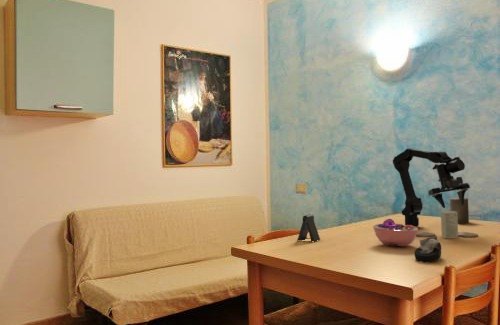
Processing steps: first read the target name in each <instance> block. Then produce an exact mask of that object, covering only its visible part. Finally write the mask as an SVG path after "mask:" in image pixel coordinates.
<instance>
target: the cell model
mask: <svg viewBox="0 0 500 325" xmlns="http://www.w3.org/2000/svg"><path fill="white" fill-rule="evenodd" d="M372 228H373V230H374V233H375V234H374V235H375V237H376V238H377V239H378V241H379V242H380V243H381V244H383V245H386V246H392V247H393V246H394V247H395V246H396V247H406V246H410V245H411V244H412V243H414V241H415V240H416V237H417V236H416V233H417V232H419V228H418V227H415V226H412V225H405V223H403V224H402V223H395V221H394V220H393V219H392V218H386V219H385V220H384V221H383V223H380V224H379V223H378V224H375V225H373V226H372Z"/></svg>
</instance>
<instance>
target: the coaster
mask: <svg viewBox="0 0 500 325" xmlns="http://www.w3.org/2000/svg"><path fill="white" fill-rule="evenodd" d="M434 236H436V234H435V233H434V232H429V231H417V233H416V237H417V238H430V237H434Z"/></svg>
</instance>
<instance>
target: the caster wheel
mask: <svg viewBox="0 0 500 325" xmlns="http://www.w3.org/2000/svg"><path fill="white" fill-rule="evenodd" d="M419 244H420V245H419V246H418V248H416V249H415V250H414V251H413V252H414V258H415V260H416V261H417V260H418V262H419V261H422V262H421V263H426V262H429V263H433V262H437V261H439V260H441V258H442V245H441V242H440V241H439V240H438V235H435V236H433V237H425V238H423V239H420V240H419Z"/></svg>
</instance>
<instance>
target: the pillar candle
mask: <svg viewBox="0 0 500 325" xmlns="http://www.w3.org/2000/svg"><path fill="white" fill-rule="evenodd" d="M448 201H449V211H455V212H457V216H458V224H462V225H463V224H468V223H470V219H469V218H470V217H469V213H470V212H469V198H467V197H464V204H463V205H462V204H461V202H460V200H459V197H450V198H449V200H448Z"/></svg>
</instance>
